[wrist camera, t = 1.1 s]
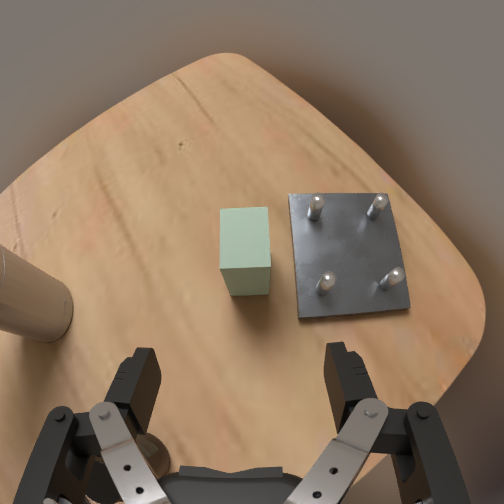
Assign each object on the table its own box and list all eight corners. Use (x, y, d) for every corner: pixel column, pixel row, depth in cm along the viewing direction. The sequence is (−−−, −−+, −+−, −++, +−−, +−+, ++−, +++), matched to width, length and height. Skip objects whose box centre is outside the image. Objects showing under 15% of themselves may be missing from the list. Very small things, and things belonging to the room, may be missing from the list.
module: (230, 295, 37) (219, 268, 28) (230, 248, 39) (220, 208, 30) (268, 294, 37) (271, 266, 28) (266, 247, 39) (267, 206, 30)
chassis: (298, 319, 36) (303, 310, 31) (288, 198, 41) (291, 176, 37) (406, 309, 35) (425, 299, 30) (384, 198, 41) (397, 177, 36)
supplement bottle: (151, 489, 28) (109, 526, 17) (109, 453, 29) (55, 474, 18) (182, 455, 30) (147, 488, 19) (137, 418, 31) (87, 433, 20)
